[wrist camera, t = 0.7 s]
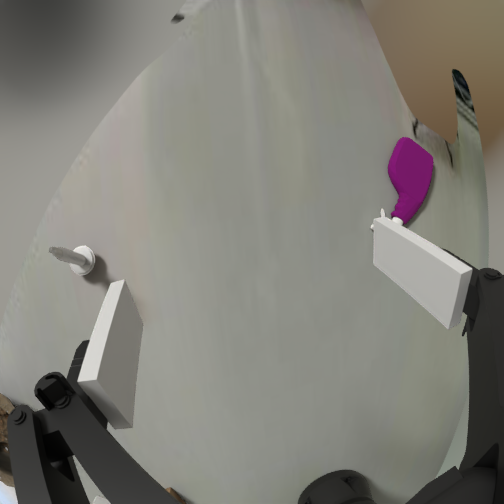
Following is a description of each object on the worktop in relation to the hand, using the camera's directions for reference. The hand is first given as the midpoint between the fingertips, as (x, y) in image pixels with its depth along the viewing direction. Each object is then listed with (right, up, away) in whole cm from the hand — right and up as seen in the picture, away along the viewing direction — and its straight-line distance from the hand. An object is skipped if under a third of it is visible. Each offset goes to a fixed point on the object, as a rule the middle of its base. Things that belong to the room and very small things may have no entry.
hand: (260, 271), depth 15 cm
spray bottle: (+31, +14, +42) cm, 54 cm away
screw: (-28, -1, +31) cm, 42 cm away
